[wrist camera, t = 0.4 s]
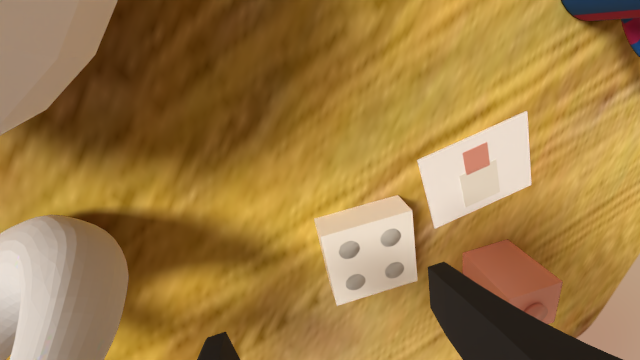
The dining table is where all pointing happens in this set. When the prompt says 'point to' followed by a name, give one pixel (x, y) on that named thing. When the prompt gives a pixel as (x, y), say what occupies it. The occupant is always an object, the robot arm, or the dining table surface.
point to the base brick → (368, 248)
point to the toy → (60, 290)
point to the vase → (45, 51)
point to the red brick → (514, 278)
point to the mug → (610, 15)
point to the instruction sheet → (477, 170)
